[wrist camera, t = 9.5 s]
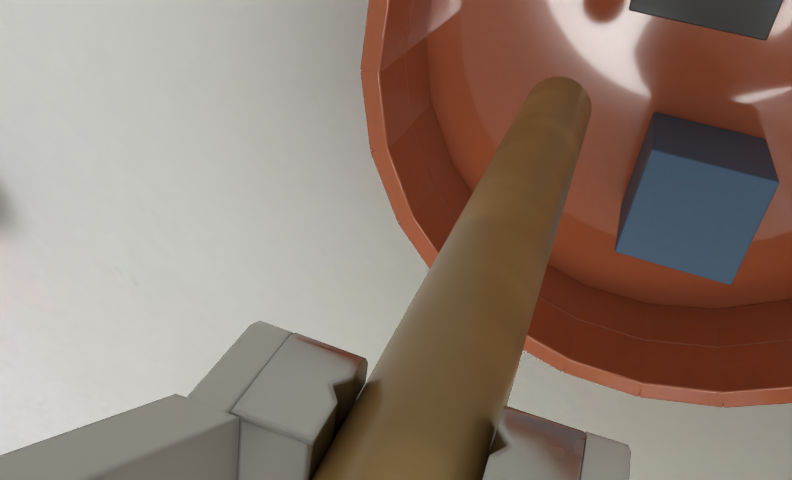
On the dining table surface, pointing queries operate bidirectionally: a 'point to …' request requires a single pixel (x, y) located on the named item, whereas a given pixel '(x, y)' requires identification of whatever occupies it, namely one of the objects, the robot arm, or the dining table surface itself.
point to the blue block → (696, 197)
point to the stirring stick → (469, 311)
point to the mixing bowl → (595, 177)
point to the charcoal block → (716, 14)
